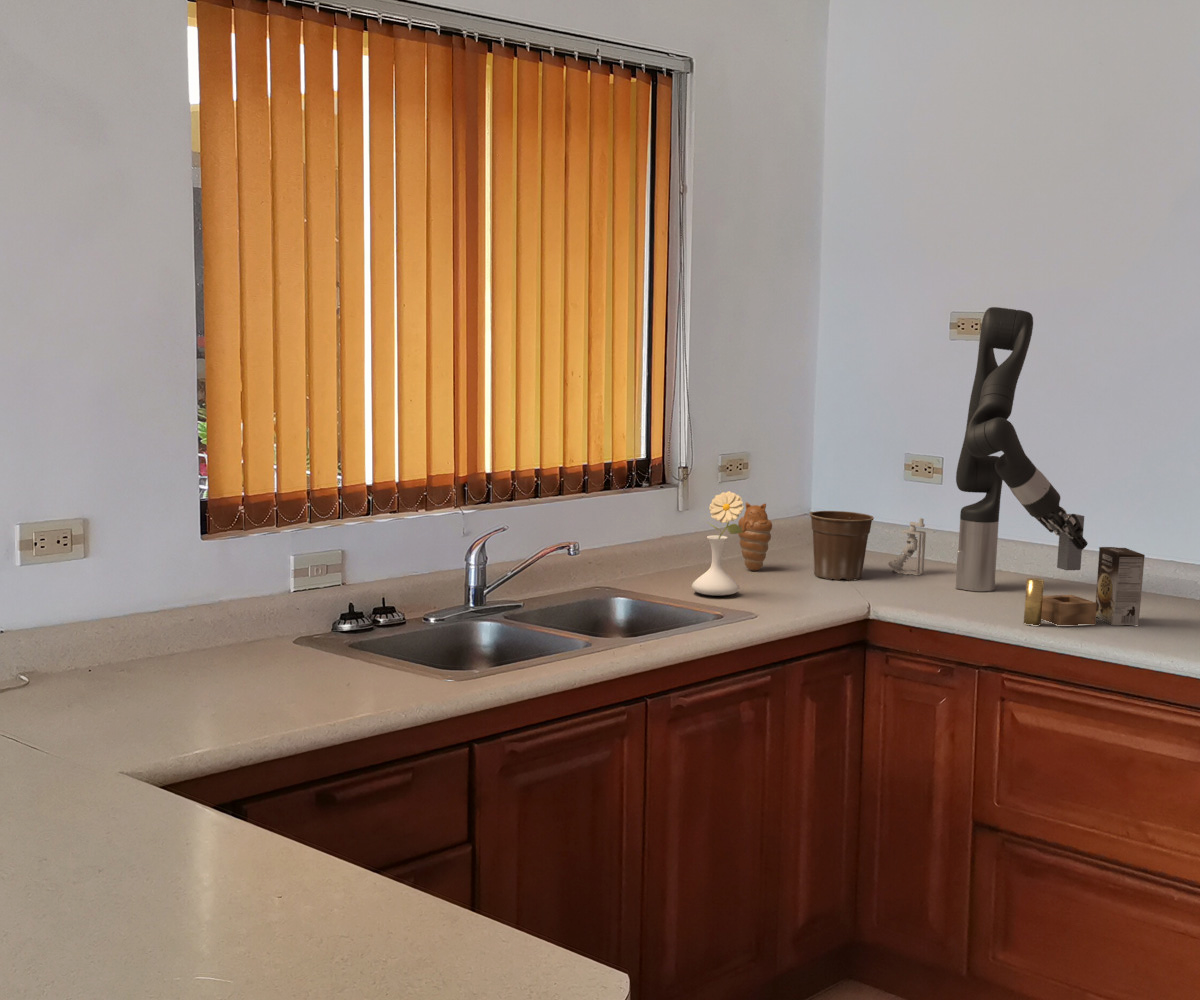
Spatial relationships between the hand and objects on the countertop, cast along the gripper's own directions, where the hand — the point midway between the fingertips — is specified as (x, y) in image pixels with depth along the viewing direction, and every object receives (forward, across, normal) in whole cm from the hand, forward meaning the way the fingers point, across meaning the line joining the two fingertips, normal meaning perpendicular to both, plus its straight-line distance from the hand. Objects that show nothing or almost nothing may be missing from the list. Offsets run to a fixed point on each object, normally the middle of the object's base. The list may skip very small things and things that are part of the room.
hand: (1078, 545), depth 290 cm
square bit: (+2, 0, +5) cm, 6 cm away
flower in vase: (-36, +41, +61) cm, 82 cm away
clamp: (+6, +60, +18) cm, 63 cm away
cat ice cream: (-22, +69, +46) cm, 86 cm away
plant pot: (-8, +58, +32) cm, 67 cm away
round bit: (+4, -1, +20) cm, 21 cm away
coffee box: (+19, -2, +5) cm, 20 cm away
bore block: (+11, 0, +14) cm, 17 cm away
